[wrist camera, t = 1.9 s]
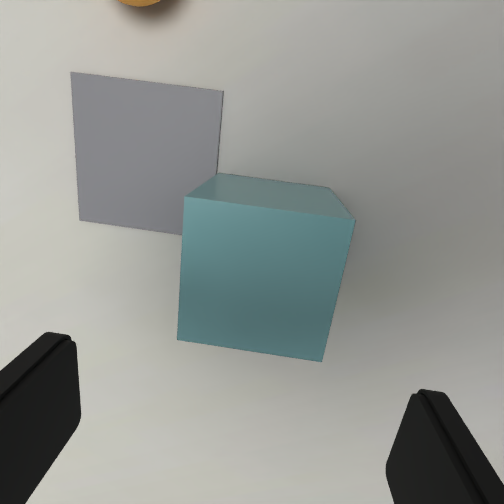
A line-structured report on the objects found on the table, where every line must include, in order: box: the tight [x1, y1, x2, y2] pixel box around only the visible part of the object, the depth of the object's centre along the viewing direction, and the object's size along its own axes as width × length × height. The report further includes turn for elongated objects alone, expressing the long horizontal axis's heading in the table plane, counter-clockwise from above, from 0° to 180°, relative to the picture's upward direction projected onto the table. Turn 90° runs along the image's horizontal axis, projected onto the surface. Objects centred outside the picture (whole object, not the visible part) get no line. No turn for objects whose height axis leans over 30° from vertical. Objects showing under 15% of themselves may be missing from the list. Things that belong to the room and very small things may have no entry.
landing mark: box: [71, 72, 223, 235], centre depth 23 cm, size 10×10×1 cm
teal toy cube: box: [177, 173, 356, 362], centre depth 20 cm, size 8×8×9 cm
